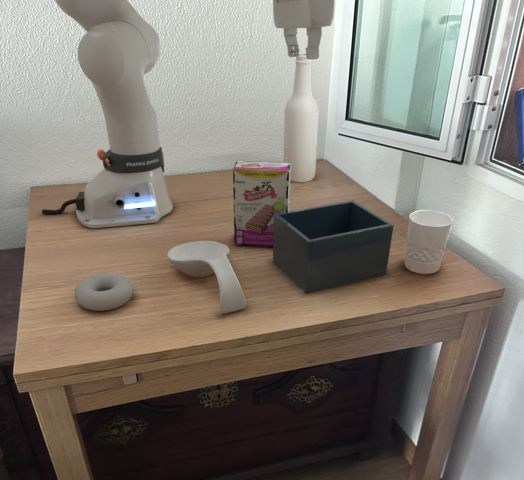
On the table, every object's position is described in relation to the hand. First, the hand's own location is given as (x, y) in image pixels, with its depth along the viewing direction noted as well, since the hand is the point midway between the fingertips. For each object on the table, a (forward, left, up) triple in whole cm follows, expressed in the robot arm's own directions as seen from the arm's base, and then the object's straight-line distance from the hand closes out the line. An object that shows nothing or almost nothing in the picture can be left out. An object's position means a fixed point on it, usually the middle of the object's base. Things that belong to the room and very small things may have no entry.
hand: (302, 57), depth 95 cm
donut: (-42, -7, -35) cm, 55 cm away
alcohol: (+20, +37, -35) cm, 55 cm away
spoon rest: (-23, -9, -35) cm, 43 cm away
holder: (0, -13, -35) cm, 37 cm away
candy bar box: (-7, +3, -35) cm, 36 cm away
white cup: (+17, -20, -35) cm, 44 cm away
